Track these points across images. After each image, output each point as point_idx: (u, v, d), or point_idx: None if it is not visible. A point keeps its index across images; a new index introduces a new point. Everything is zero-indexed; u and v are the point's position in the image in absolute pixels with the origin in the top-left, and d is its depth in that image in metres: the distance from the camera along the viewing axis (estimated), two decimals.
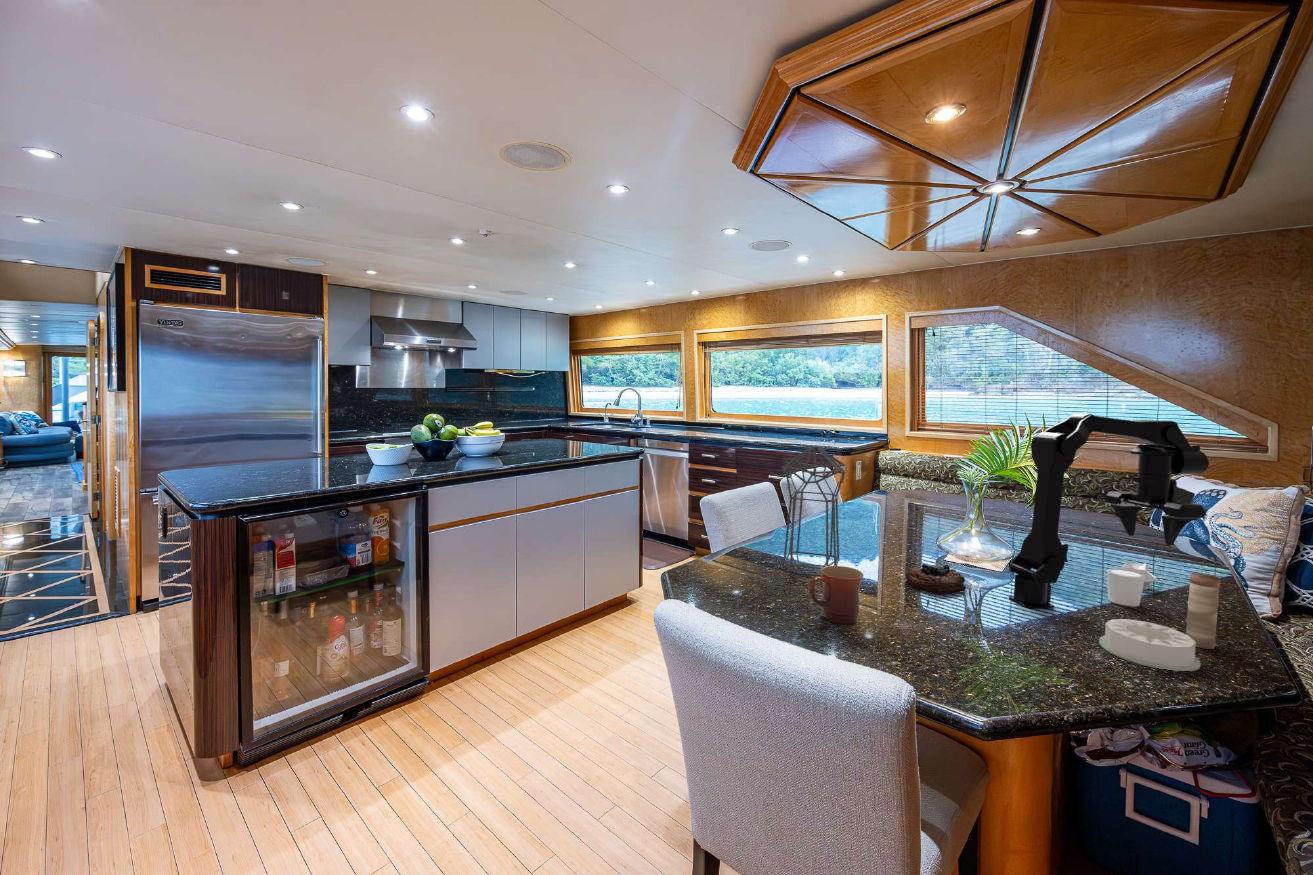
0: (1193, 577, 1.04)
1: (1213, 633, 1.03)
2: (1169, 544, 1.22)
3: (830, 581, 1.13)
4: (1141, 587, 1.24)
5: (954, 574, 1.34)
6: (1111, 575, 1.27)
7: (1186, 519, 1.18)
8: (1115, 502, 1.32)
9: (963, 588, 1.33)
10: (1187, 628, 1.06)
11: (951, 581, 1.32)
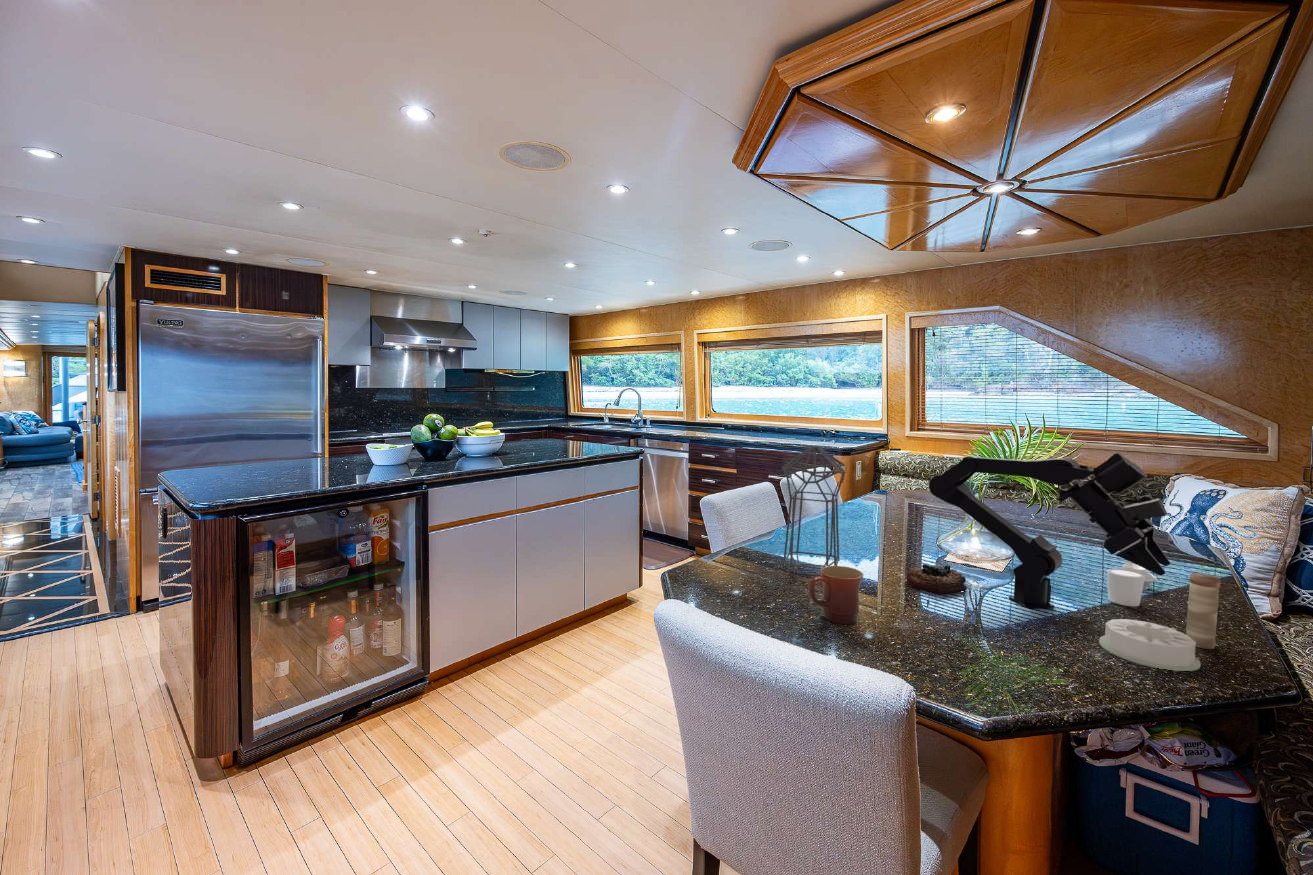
0: (1193, 577, 1.04)
1: (1213, 633, 1.03)
2: (1160, 574, 1.05)
3: (830, 581, 1.13)
4: (1141, 587, 1.24)
5: (955, 574, 1.34)
6: (1111, 575, 1.27)
7: (1129, 548, 1.06)
8: None
9: (964, 588, 1.33)
10: (1187, 628, 1.06)
11: (952, 581, 1.32)
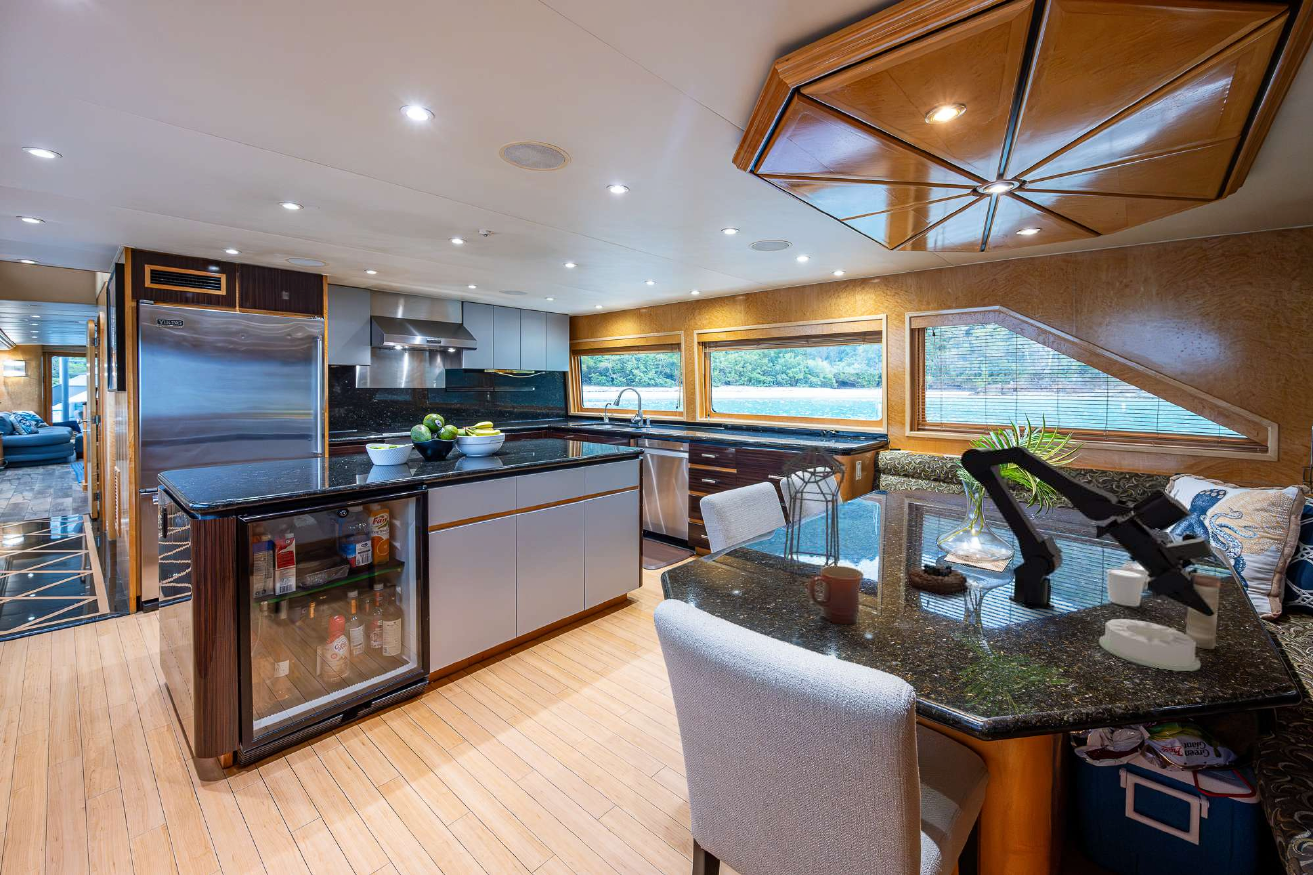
0: None
1: (1213, 633, 1.03)
2: (1209, 614, 1.02)
3: (830, 581, 1.13)
4: (1141, 587, 1.24)
5: (956, 574, 1.34)
6: (1111, 575, 1.27)
7: (1176, 588, 1.03)
8: None
9: (965, 588, 1.33)
10: (1187, 628, 1.06)
11: (953, 581, 1.32)
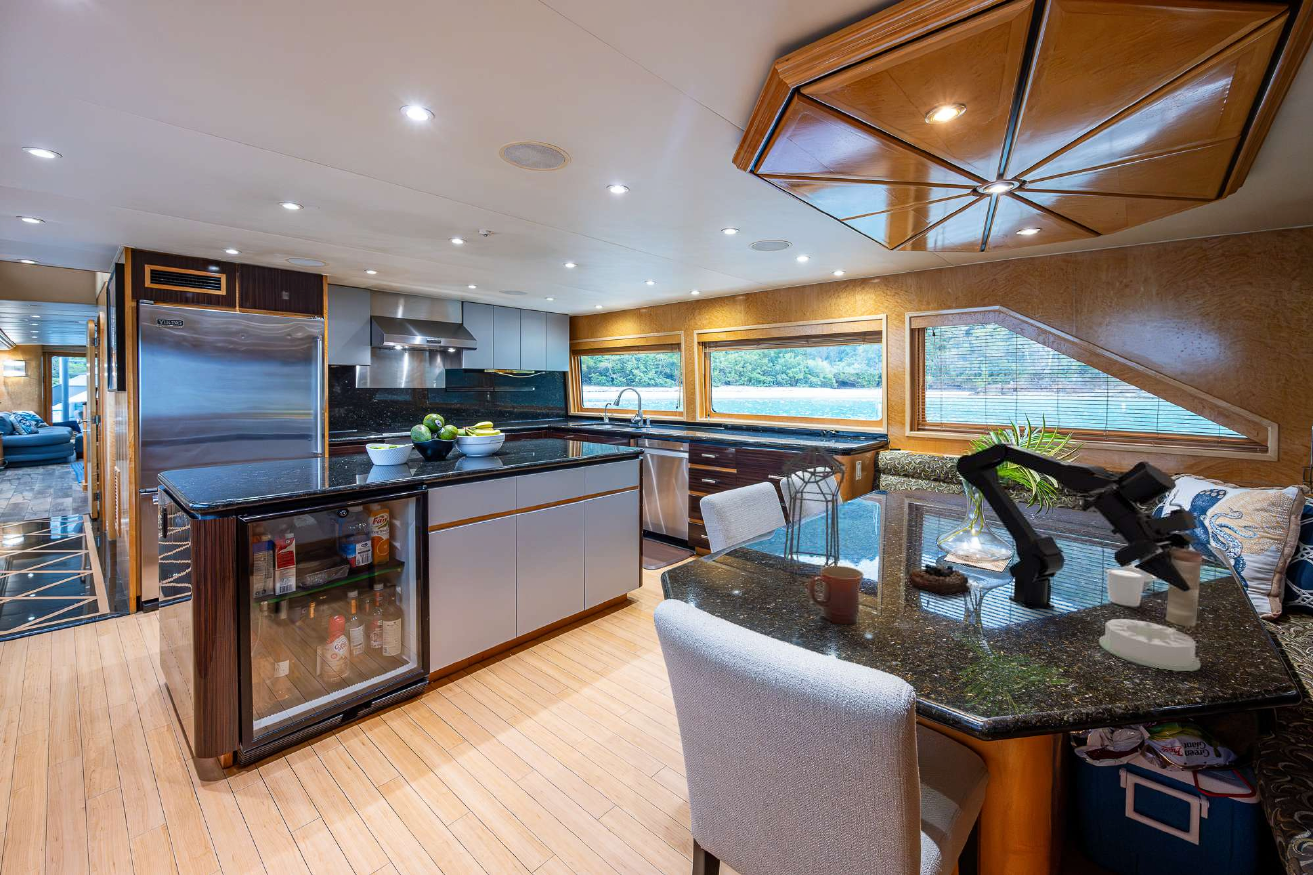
0: (1172, 551, 1.02)
1: (1192, 609, 1.00)
2: (1184, 589, 0.99)
3: (830, 581, 1.13)
4: (1141, 587, 1.24)
5: (958, 575, 1.34)
6: (1111, 575, 1.27)
7: (1147, 560, 1.02)
8: None
9: (967, 589, 1.33)
10: (1167, 604, 1.03)
11: (955, 582, 1.31)
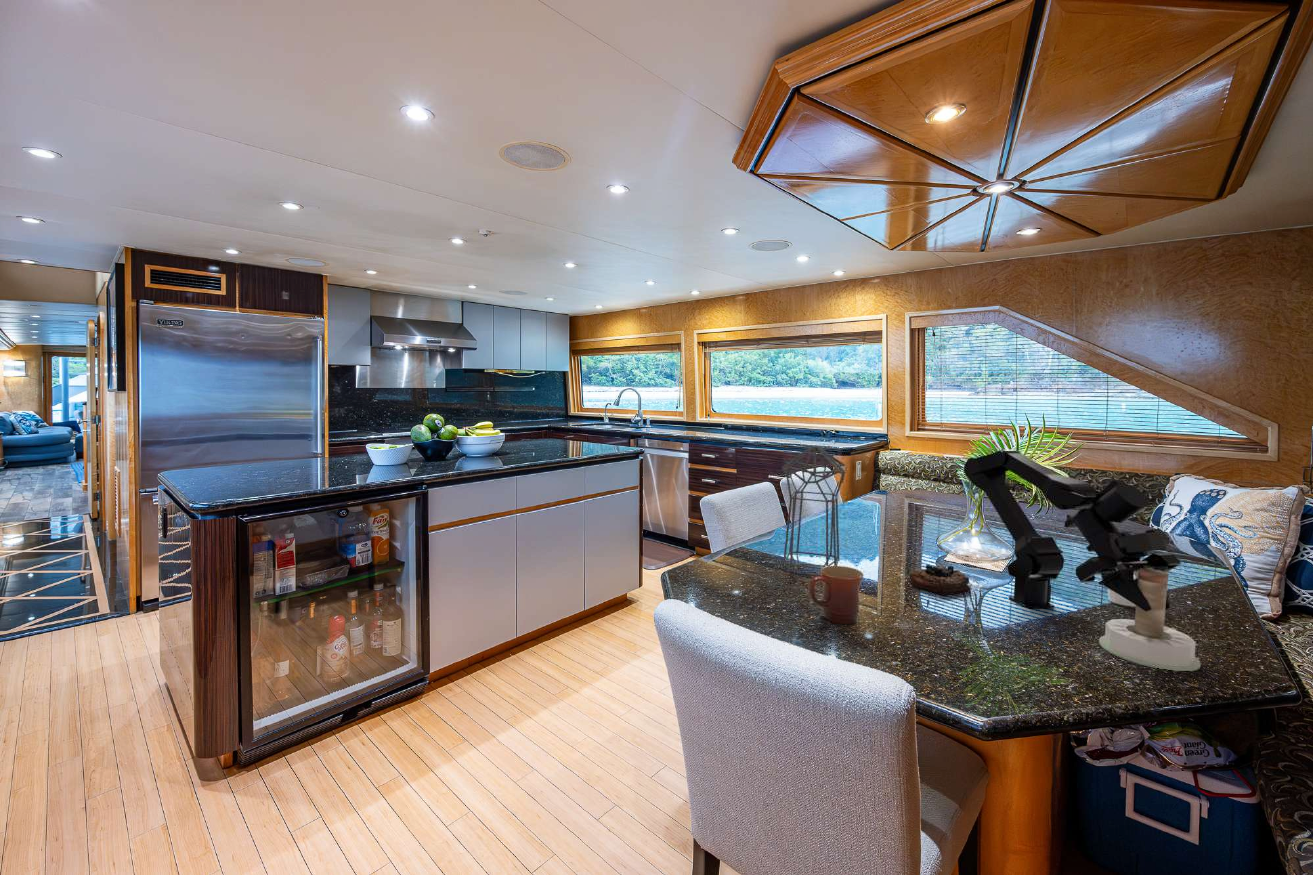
0: (1138, 571, 1.01)
1: (1155, 630, 0.99)
2: (1145, 609, 0.99)
3: (830, 581, 1.13)
4: None
5: (958, 575, 1.34)
6: None
7: (1108, 578, 1.03)
8: None
9: (967, 589, 1.33)
10: None
11: (956, 582, 1.31)
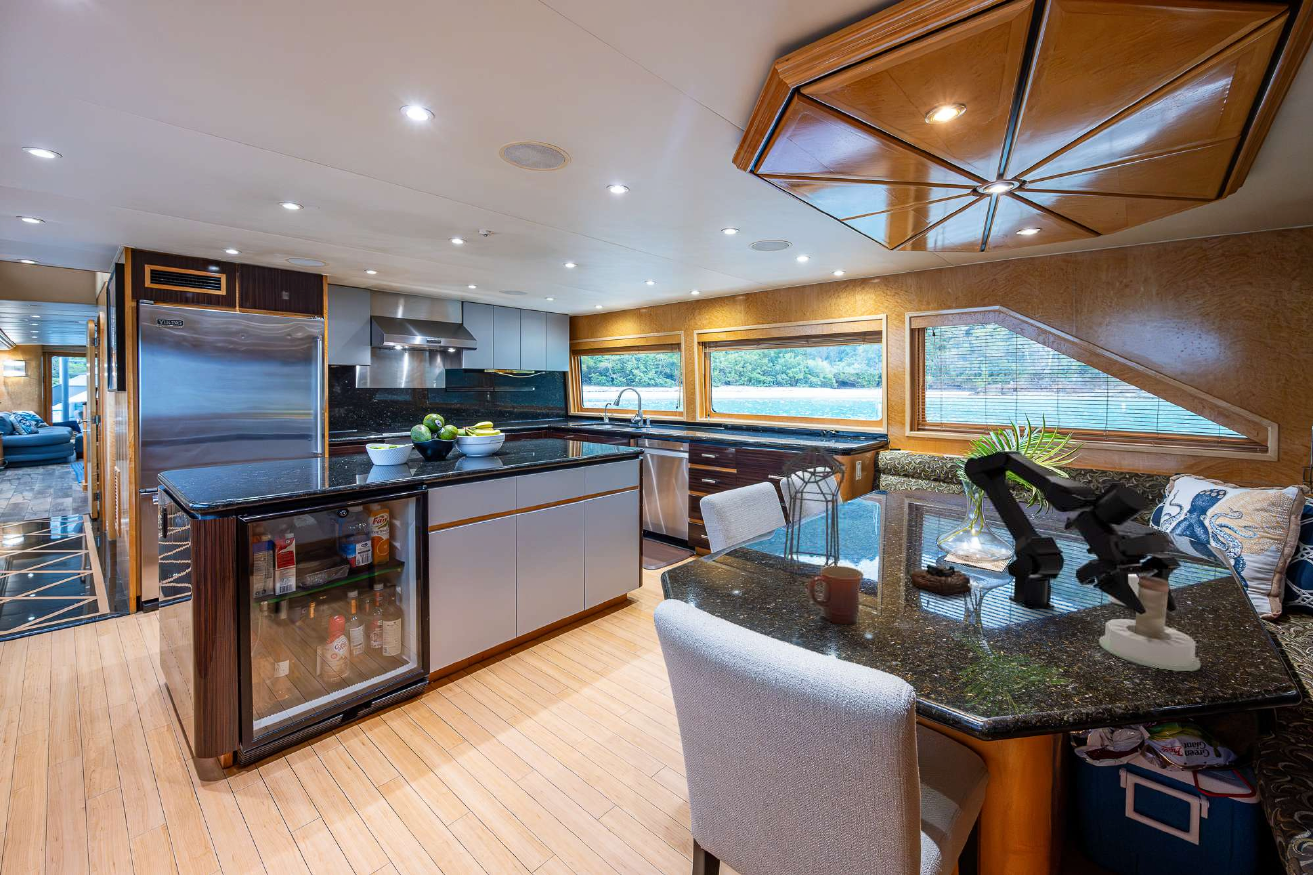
0: (1139, 579, 1.01)
1: (1154, 638, 0.99)
2: (1140, 612, 0.99)
3: (830, 581, 1.13)
4: None
5: (959, 575, 1.33)
6: None
7: (1102, 581, 1.02)
8: None
9: (968, 589, 1.33)
10: None
11: (957, 582, 1.31)
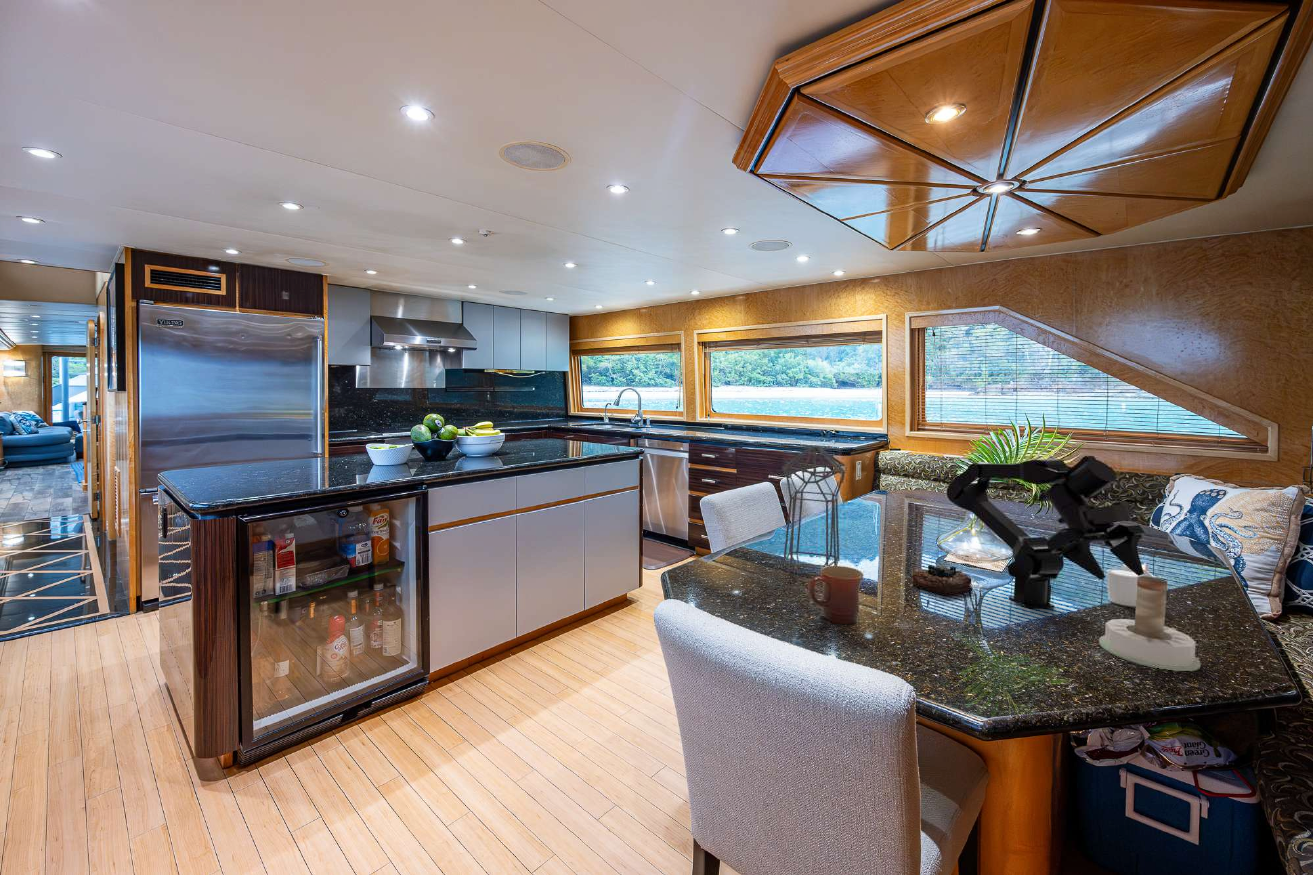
0: (1137, 579, 1.02)
1: (1154, 638, 0.99)
2: (1100, 577, 1.06)
3: (830, 581, 1.13)
4: None
5: (961, 575, 1.33)
6: (1111, 575, 1.27)
7: (1066, 549, 1.09)
8: None
9: (970, 589, 1.33)
10: None
11: (958, 582, 1.31)
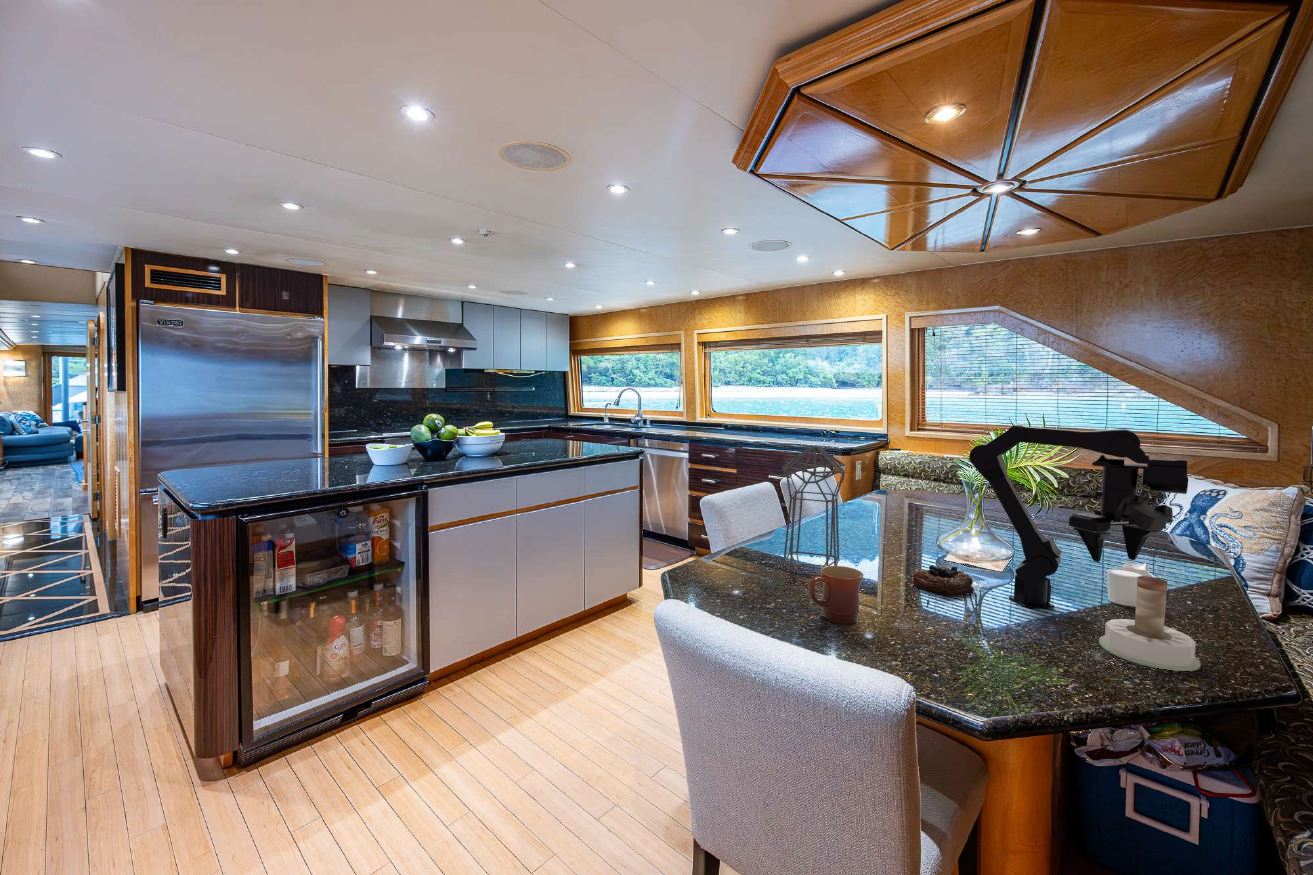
0: (1137, 579, 1.01)
1: (1154, 638, 0.99)
2: (1094, 560, 1.15)
3: (830, 581, 1.13)
4: None
5: (962, 575, 1.33)
6: (1111, 575, 1.27)
7: (1084, 531, 1.14)
8: None
9: (971, 590, 1.32)
10: None
11: (959, 583, 1.31)
